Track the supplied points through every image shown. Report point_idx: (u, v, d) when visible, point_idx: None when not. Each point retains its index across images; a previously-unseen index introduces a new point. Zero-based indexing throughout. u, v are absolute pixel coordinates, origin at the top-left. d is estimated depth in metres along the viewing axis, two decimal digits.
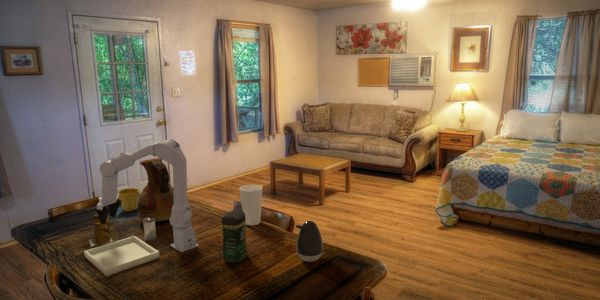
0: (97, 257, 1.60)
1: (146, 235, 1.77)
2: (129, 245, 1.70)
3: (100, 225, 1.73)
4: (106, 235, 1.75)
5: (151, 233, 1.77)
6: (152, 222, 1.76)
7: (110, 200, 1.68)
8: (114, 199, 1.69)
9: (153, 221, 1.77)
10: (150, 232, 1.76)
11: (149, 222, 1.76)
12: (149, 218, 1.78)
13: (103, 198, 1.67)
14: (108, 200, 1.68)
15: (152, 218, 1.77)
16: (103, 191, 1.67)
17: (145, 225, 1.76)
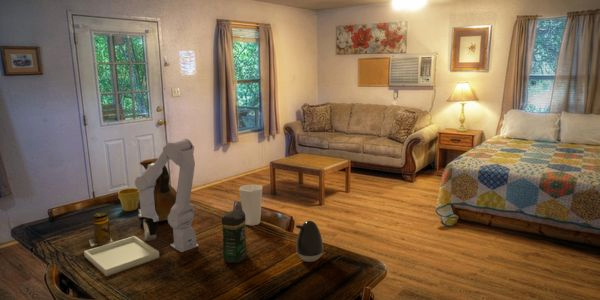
0: (97, 257, 1.60)
1: (146, 235, 1.77)
2: (129, 245, 1.70)
3: (100, 225, 1.73)
4: (106, 235, 1.75)
5: None
6: None
7: (154, 211, 1.76)
8: None
9: None
10: None
11: None
12: (149, 218, 1.78)
13: (148, 212, 1.74)
14: (153, 212, 1.76)
15: None
16: (147, 205, 1.73)
17: (145, 225, 1.76)
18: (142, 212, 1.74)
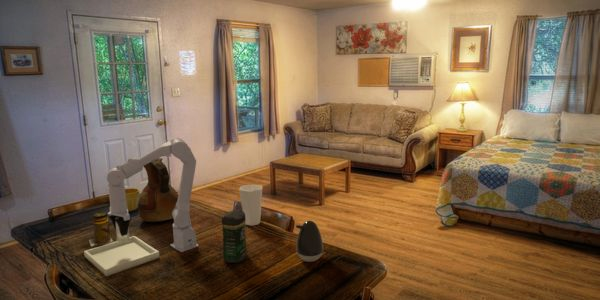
0: (97, 257, 1.60)
1: (118, 235, 1.59)
2: (129, 245, 1.70)
3: (100, 225, 1.73)
4: (106, 235, 1.75)
5: None
6: None
7: (126, 209, 1.59)
8: (126, 207, 1.60)
9: None
10: None
11: None
12: None
13: (119, 210, 1.57)
14: (124, 210, 1.58)
15: None
16: (118, 202, 1.56)
17: None
18: (112, 210, 1.57)
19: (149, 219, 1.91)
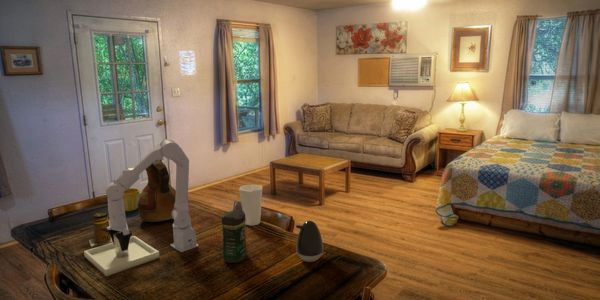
0: (97, 257, 1.60)
1: (117, 252, 1.59)
2: (129, 245, 1.70)
3: (100, 225, 1.73)
4: (106, 235, 1.75)
5: None
6: None
7: (125, 223, 1.59)
8: None
9: None
10: None
11: None
12: None
13: (118, 224, 1.56)
14: (124, 224, 1.58)
15: None
16: (117, 217, 1.56)
17: (116, 241, 1.58)
18: (111, 224, 1.57)
19: (149, 219, 1.91)
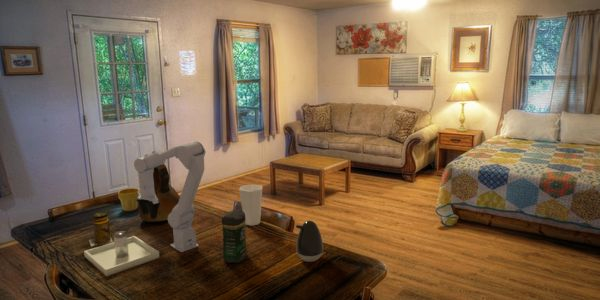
0: (97, 257, 1.60)
1: (117, 252, 1.59)
2: (129, 245, 1.70)
3: (100, 225, 1.73)
4: (106, 235, 1.75)
5: (123, 249, 1.60)
6: (124, 237, 1.59)
7: (154, 194, 1.74)
8: (154, 192, 1.76)
9: (125, 236, 1.60)
10: (122, 248, 1.59)
11: (121, 237, 1.58)
12: (120, 233, 1.60)
13: (148, 194, 1.72)
14: (153, 194, 1.73)
15: (124, 233, 1.60)
16: (147, 187, 1.71)
17: (116, 241, 1.58)
18: (141, 194, 1.72)
19: (149, 219, 1.91)
